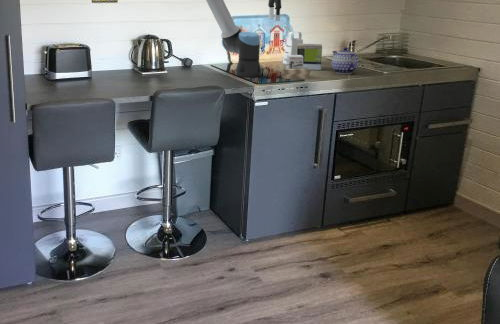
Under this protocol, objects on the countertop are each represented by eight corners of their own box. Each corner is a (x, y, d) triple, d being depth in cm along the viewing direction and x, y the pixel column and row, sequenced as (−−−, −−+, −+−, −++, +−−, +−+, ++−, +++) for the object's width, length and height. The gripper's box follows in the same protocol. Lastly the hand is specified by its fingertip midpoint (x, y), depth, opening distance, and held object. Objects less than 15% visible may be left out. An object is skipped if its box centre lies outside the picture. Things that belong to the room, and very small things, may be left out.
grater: (282, 62, 371) (284, 31, 364) (297, 62, 375) (298, 31, 368) (289, 65, 362) (291, 33, 355) (304, 64, 366) (306, 32, 359)
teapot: (366, 75, 335) (369, 49, 330) (344, 77, 329) (346, 50, 324) (343, 68, 356) (345, 44, 352) (321, 69, 350) (323, 44, 346)
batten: (283, 78, 318) (284, 69, 316) (282, 77, 321) (282, 68, 319) (309, 78, 321) (310, 69, 320) (307, 77, 324) (308, 68, 323)
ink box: (288, 77, 323) (289, 56, 320) (285, 75, 328) (286, 54, 324) (302, 77, 325) (303, 56, 322) (300, 75, 330) (301, 54, 326)
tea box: (320, 67, 357) (322, 43, 352) (320, 70, 347) (322, 45, 342) (296, 66, 358) (297, 42, 353) (296, 69, 349) (297, 44, 344)
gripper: (287, -17, 325) (286, 21, 331) (276, -19, 348) (274, 17, 354) (275, -18, 323) (273, 21, 330) (264, -19, 346) (262, 17, 353)
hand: (274, 19), depth 342 cm, fingers open, 13 cm apart
